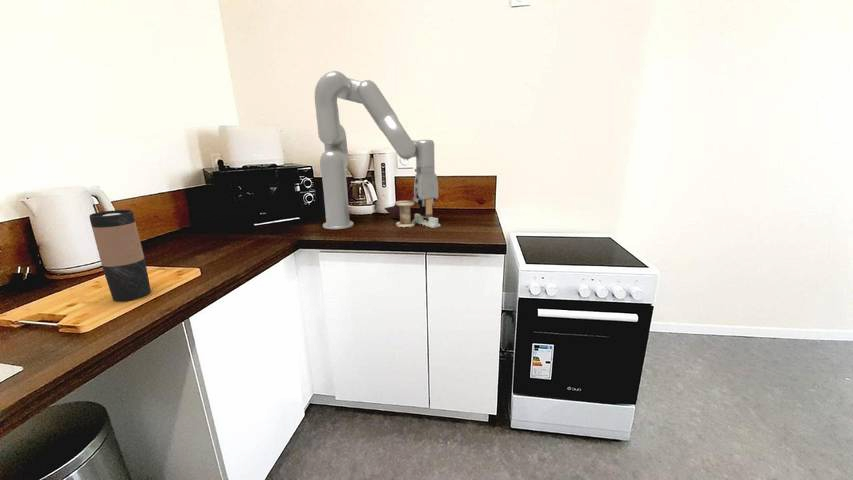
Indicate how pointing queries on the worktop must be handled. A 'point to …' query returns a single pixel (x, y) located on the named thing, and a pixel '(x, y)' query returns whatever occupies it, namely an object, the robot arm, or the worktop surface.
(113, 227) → the travel mug
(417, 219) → the notch board
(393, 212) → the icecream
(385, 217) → the worktop surface
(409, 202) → the spool
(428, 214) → the tan rectangular block
